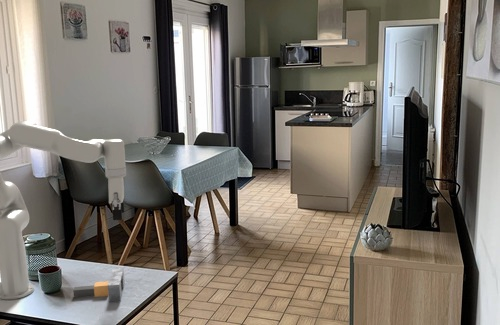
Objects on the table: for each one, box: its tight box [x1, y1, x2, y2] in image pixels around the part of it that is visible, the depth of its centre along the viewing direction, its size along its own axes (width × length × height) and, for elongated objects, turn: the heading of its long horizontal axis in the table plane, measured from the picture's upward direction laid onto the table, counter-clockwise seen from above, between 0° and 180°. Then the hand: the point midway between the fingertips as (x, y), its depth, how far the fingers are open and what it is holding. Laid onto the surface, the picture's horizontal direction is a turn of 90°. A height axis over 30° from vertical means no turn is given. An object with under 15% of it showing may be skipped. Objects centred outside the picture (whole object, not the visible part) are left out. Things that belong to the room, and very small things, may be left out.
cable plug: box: [73, 280, 109, 299], centre depth 188 cm, size 12×4×4 cm, turn 99°
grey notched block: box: [108, 267, 125, 303], centre depth 189 cm, size 4×16×6 cm, turn 9°
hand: (118, 216), depth 191 cm, fingers open, 9 cm apart
